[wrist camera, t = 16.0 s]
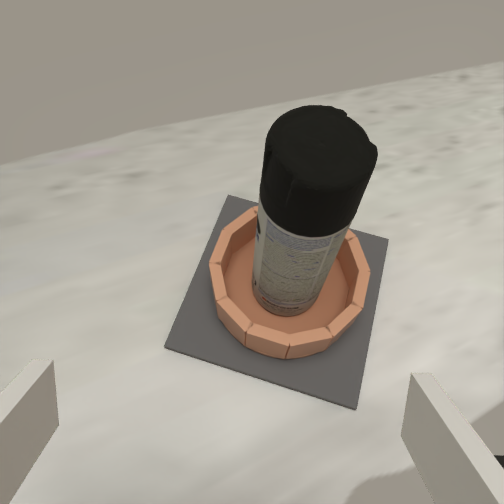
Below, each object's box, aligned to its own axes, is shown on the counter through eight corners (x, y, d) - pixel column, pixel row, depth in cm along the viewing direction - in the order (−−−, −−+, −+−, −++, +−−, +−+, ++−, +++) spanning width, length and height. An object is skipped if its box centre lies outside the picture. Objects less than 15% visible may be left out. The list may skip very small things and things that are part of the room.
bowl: (192, 332, 41) (187, 314, 37) (239, 213, 47) (239, 186, 43) (338, 379, 39) (351, 366, 35) (366, 249, 46) (379, 225, 41)
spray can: (296, 245, 45) (334, 86, 27) (333, 299, 42) (403, 161, 24) (239, 273, 43) (241, 123, 25) (274, 331, 40) (303, 208, 23)
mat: (165, 348, 41) (164, 346, 40) (228, 197, 49) (228, 194, 48) (354, 410, 38) (356, 408, 38) (387, 242, 47) (388, 239, 46)
